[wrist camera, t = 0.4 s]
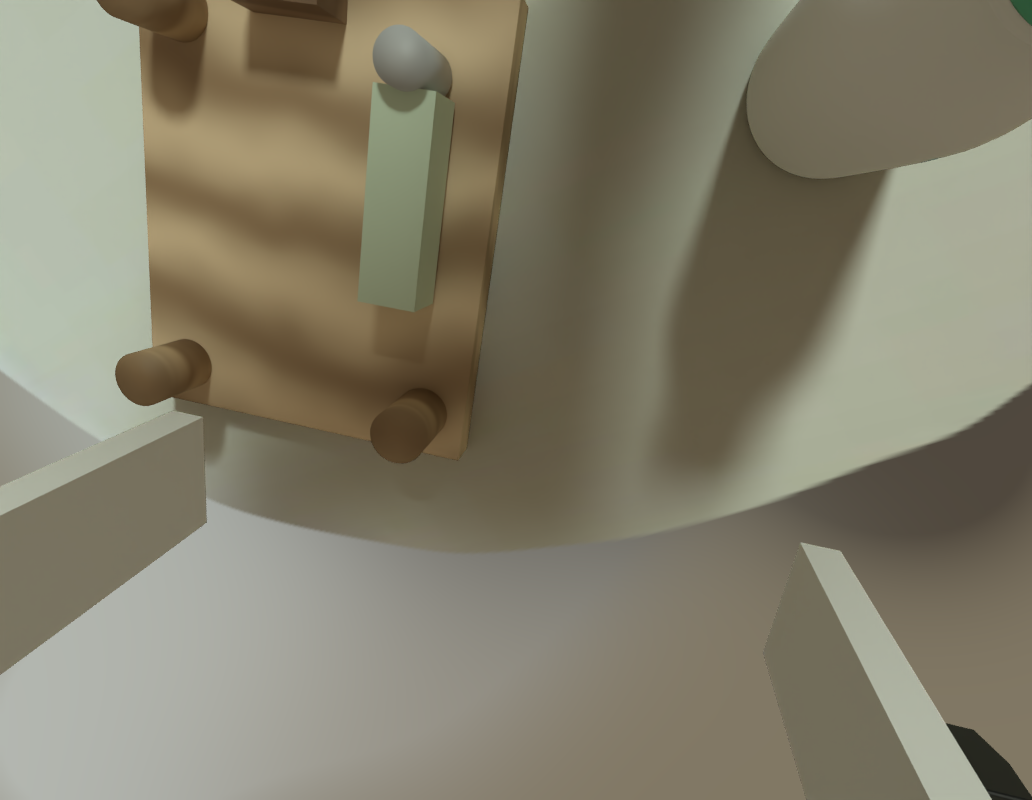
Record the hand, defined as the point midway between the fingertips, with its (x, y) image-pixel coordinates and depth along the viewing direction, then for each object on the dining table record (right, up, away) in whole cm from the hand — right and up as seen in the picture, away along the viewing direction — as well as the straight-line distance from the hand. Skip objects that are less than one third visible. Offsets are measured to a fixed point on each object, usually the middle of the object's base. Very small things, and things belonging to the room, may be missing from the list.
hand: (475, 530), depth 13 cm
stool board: (-10, +13, +22) cm, 27 cm away
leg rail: (-4, +14, +18) cm, 23 cm away
